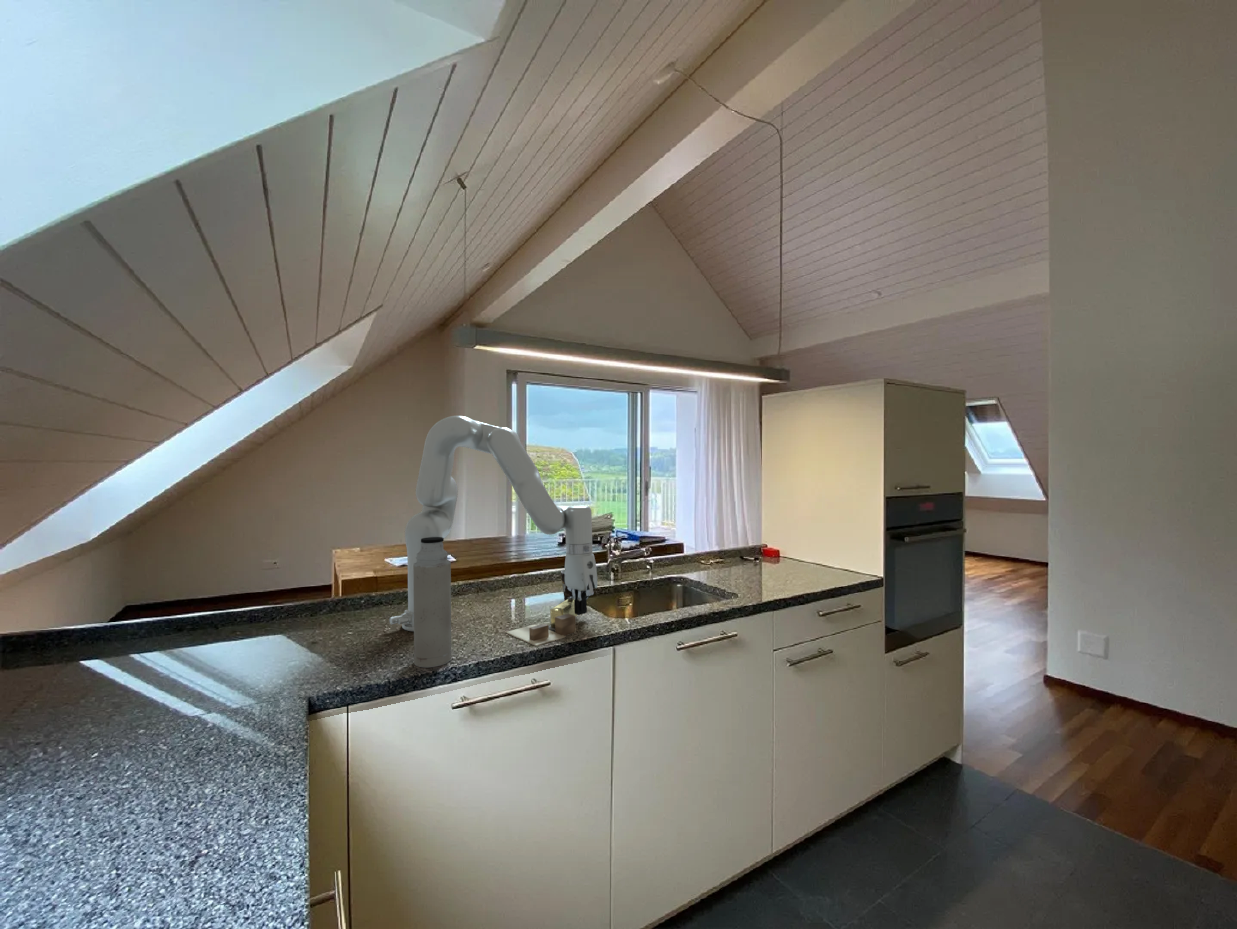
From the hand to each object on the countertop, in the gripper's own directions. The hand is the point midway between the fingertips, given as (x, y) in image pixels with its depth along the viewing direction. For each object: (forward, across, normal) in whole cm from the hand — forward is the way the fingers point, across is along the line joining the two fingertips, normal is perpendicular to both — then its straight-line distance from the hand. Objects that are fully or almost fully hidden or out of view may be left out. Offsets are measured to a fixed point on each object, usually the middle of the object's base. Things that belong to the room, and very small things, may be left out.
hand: (580, 613), depth 145 cm
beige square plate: (+2, -2, +14) cm, 14 cm away
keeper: (+2, -5, +17) cm, 18 cm away
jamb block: (+2, -6, +10) cm, 12 cm away
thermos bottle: (+2, -1, +43) cm, 43 cm away
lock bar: (+1, +2, +5) cm, 5 cm away
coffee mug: (+2, +18, -12) cm, 22 cm away
